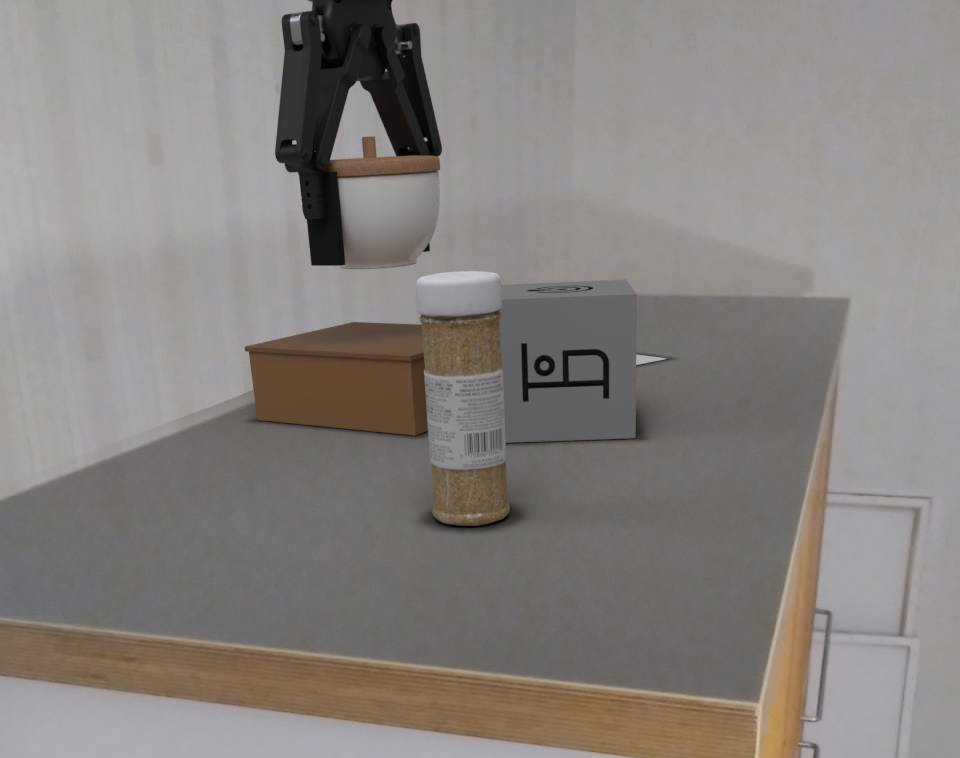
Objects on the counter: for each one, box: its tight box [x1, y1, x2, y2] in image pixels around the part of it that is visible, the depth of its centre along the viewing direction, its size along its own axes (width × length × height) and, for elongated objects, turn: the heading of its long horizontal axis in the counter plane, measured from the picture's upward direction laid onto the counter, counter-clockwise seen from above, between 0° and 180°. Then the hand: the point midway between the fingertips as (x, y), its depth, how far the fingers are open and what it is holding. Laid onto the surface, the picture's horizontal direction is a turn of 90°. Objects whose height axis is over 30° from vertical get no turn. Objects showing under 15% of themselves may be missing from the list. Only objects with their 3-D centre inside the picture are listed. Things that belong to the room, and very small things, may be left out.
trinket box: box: [324, 136, 441, 270], centre depth 87 cm, size 11×11×9 cm
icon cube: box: [499, 279, 638, 444], centre depth 84 cm, size 10×10×10 cm
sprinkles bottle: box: [415, 270, 511, 527], centre depth 62 cm, size 5×5×13 cm
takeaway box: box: [244, 321, 428, 437], centre depth 93 cm, size 16×14×6 cm
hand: (373, 258), depth 89 cm, fingers closed on trinket box, 11 cm apart
